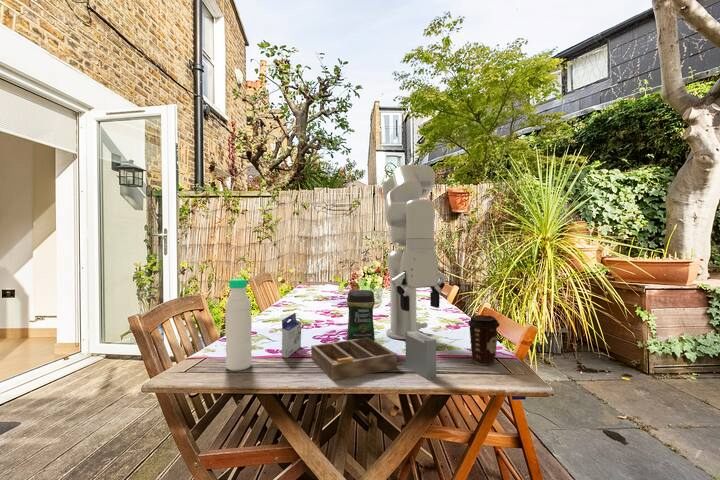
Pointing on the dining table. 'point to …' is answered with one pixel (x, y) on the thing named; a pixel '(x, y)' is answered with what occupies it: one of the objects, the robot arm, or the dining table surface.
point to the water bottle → (238, 327)
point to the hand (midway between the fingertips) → (420, 308)
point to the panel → (421, 354)
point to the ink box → (290, 335)
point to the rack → (363, 349)
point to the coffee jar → (360, 314)
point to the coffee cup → (483, 339)
